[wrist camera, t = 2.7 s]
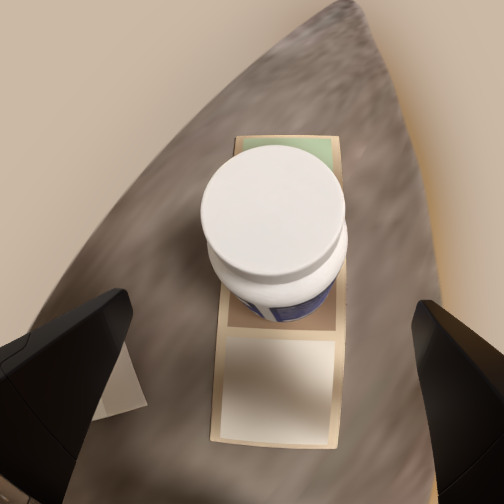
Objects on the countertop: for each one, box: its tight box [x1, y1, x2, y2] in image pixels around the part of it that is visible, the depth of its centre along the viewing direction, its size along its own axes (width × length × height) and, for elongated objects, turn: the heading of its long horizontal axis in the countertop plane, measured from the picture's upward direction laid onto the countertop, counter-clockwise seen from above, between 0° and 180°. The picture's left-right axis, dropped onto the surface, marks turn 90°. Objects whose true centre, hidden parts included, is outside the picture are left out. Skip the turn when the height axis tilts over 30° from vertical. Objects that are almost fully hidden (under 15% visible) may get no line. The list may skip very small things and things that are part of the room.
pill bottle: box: [201, 145, 348, 323], centre depth 15 cm, size 6×6×10 cm
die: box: [92, 341, 148, 421], centre depth 17 cm, size 5×5×5 cm
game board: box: [210, 135, 346, 449], centre depth 19 cm, size 21×8×1 cm, turn 176°
